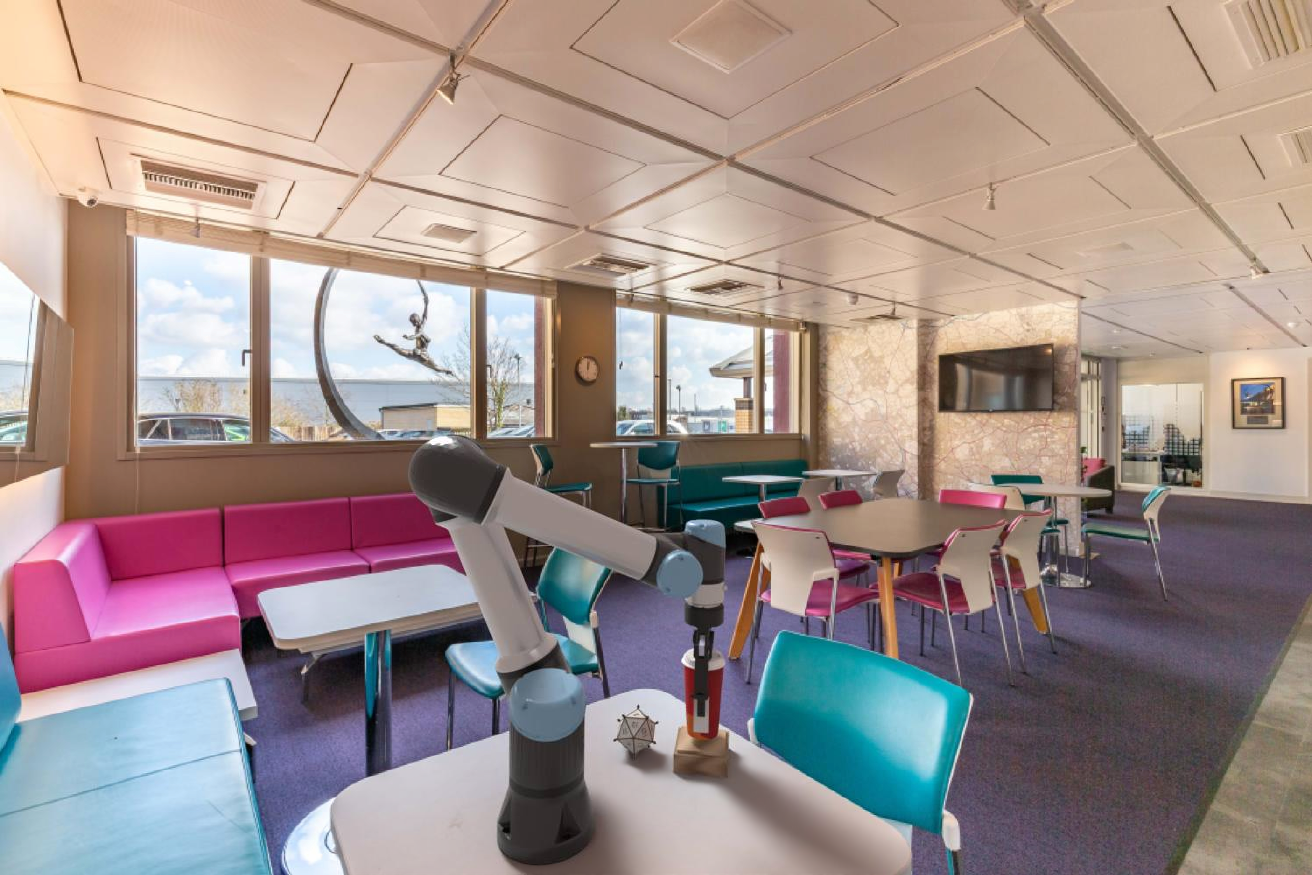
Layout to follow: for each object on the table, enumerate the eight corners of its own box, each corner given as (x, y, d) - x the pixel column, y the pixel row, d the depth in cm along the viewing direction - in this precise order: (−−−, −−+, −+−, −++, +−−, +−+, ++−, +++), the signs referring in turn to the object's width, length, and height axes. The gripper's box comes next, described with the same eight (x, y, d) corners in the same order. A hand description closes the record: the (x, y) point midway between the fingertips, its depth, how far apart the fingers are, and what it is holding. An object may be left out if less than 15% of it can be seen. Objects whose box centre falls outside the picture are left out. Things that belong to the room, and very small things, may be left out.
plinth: (673, 772, 112) (673, 750, 111) (678, 743, 121) (678, 724, 121) (727, 777, 110) (728, 755, 110) (728, 748, 120) (729, 728, 120)
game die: (633, 764, 121) (637, 710, 126) (665, 762, 116) (669, 707, 122) (601, 756, 115) (607, 700, 121) (634, 754, 111) (639, 696, 116)
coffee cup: (725, 723, 119) (727, 648, 118) (722, 745, 111) (723, 664, 110) (683, 719, 121) (685, 644, 120) (677, 740, 112) (678, 660, 112)
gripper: (722, 620, 105) (720, 750, 105) (725, 589, 125) (723, 699, 125) (679, 617, 106) (677, 747, 106) (689, 587, 126) (687, 696, 126)
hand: (702, 720), depth 116 cm, fingers closed on coffee cup, 7 cm apart
